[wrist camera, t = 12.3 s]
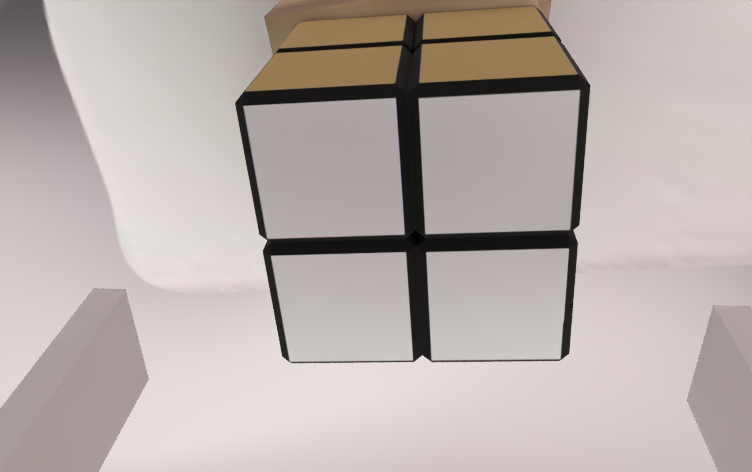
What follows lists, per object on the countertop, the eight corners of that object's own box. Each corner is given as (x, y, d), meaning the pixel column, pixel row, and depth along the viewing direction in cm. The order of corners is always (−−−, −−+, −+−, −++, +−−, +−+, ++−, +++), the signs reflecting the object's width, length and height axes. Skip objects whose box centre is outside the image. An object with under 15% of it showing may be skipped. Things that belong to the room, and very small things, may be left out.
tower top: (287, -6, 32) (264, 16, 28) (522, -44, 30) (536, -26, 26) (332, 200, 37) (318, 246, 33) (534, 177, 36) (548, 222, 31)
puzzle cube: (534, 225, 31) (571, 367, 23) (322, 232, 33) (281, 370, 24) (542, 2, 27) (593, 75, 18) (293, 19, 28) (228, 96, 19)
